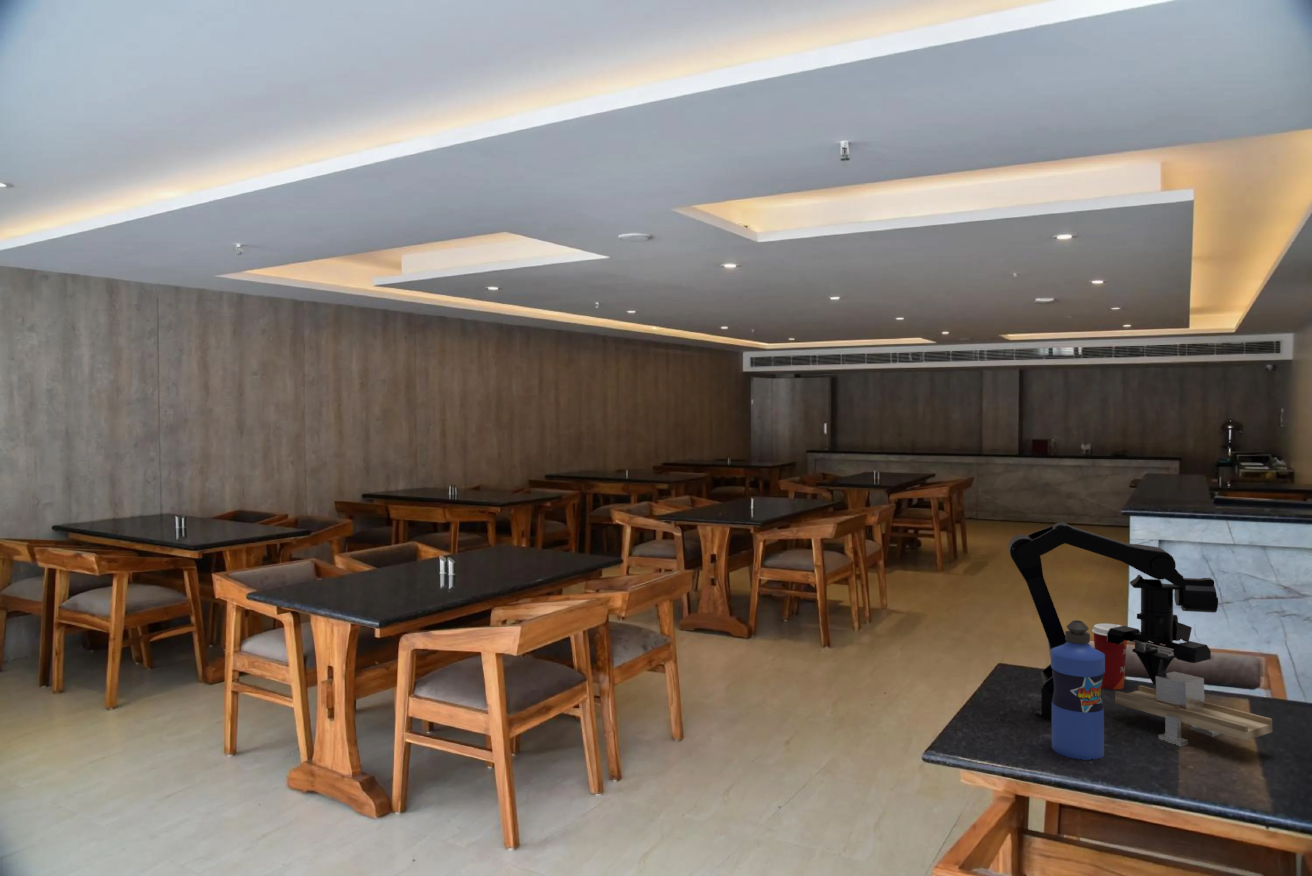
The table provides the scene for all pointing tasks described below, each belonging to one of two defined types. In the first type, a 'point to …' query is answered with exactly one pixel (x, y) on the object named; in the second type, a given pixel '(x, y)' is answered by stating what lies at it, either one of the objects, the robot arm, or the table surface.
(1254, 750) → the table surface
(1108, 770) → the table surface
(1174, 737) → the pivot stand
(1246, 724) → the oak beam
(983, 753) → the table surface
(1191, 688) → the metal block
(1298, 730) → the table surface
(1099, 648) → the paper cup
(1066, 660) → the water bottle
